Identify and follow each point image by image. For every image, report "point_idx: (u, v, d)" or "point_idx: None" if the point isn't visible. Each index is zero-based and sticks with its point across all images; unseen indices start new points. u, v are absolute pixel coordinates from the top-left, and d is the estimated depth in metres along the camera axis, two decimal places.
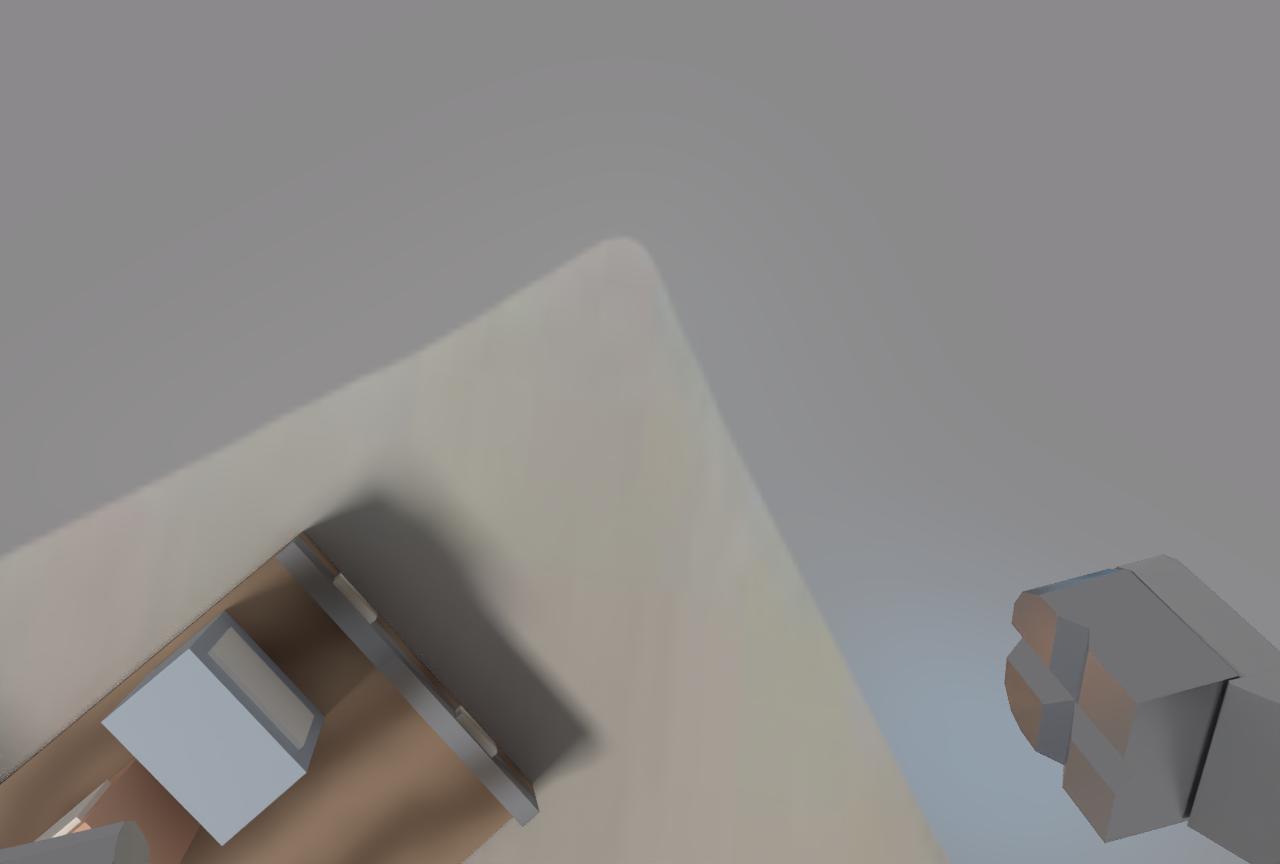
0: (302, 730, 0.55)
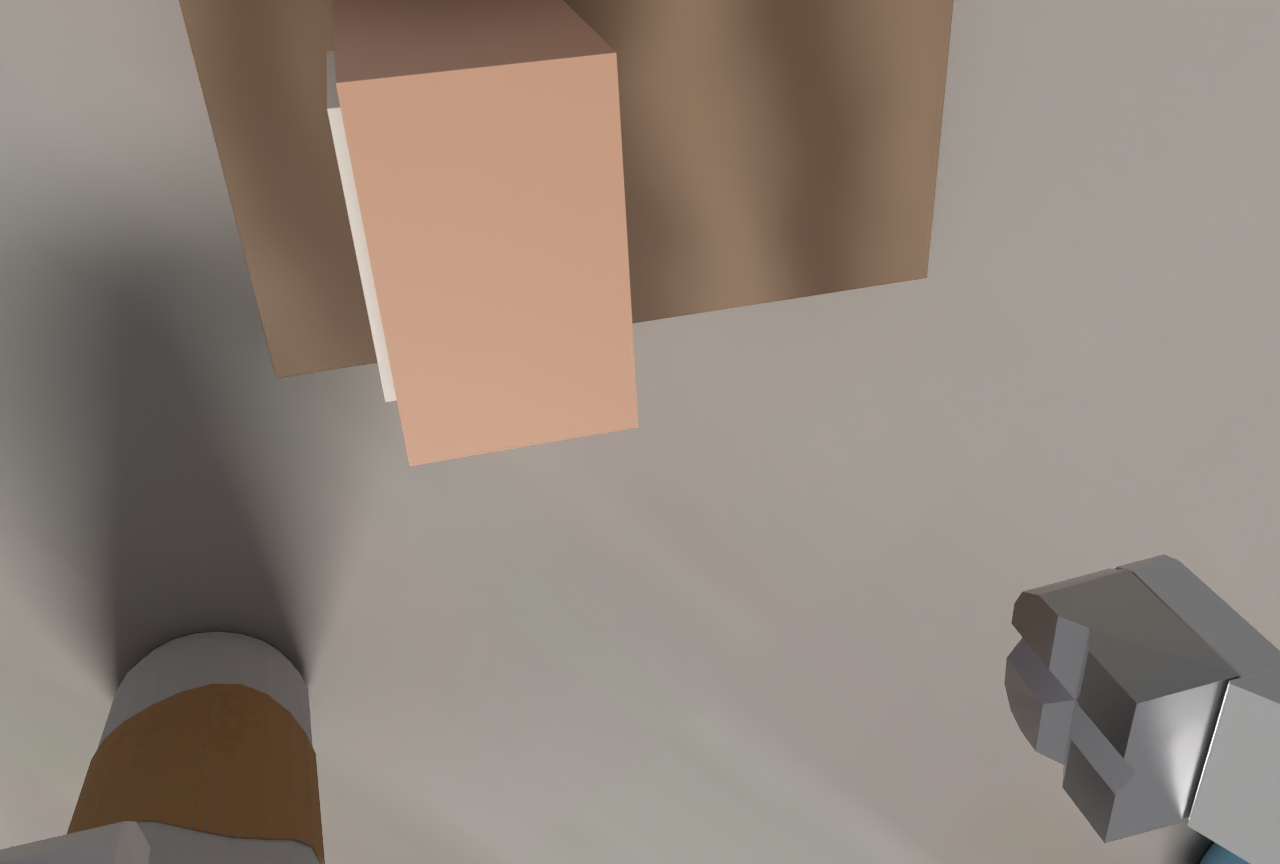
0: None
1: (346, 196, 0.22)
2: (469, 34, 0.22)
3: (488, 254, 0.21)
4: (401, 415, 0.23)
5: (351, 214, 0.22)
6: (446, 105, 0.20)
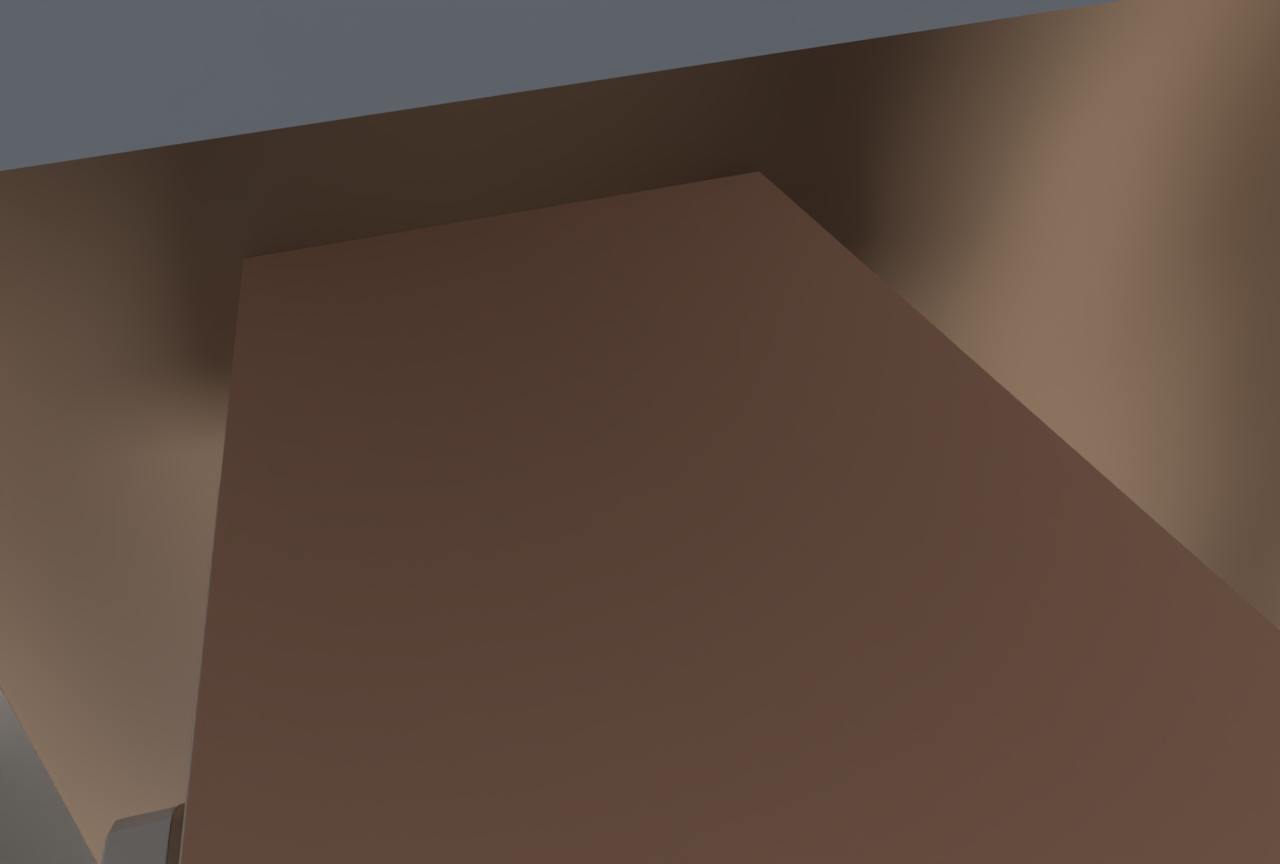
0: None
1: None
2: (744, 634, 0.05)
3: None
4: None
5: None
6: None
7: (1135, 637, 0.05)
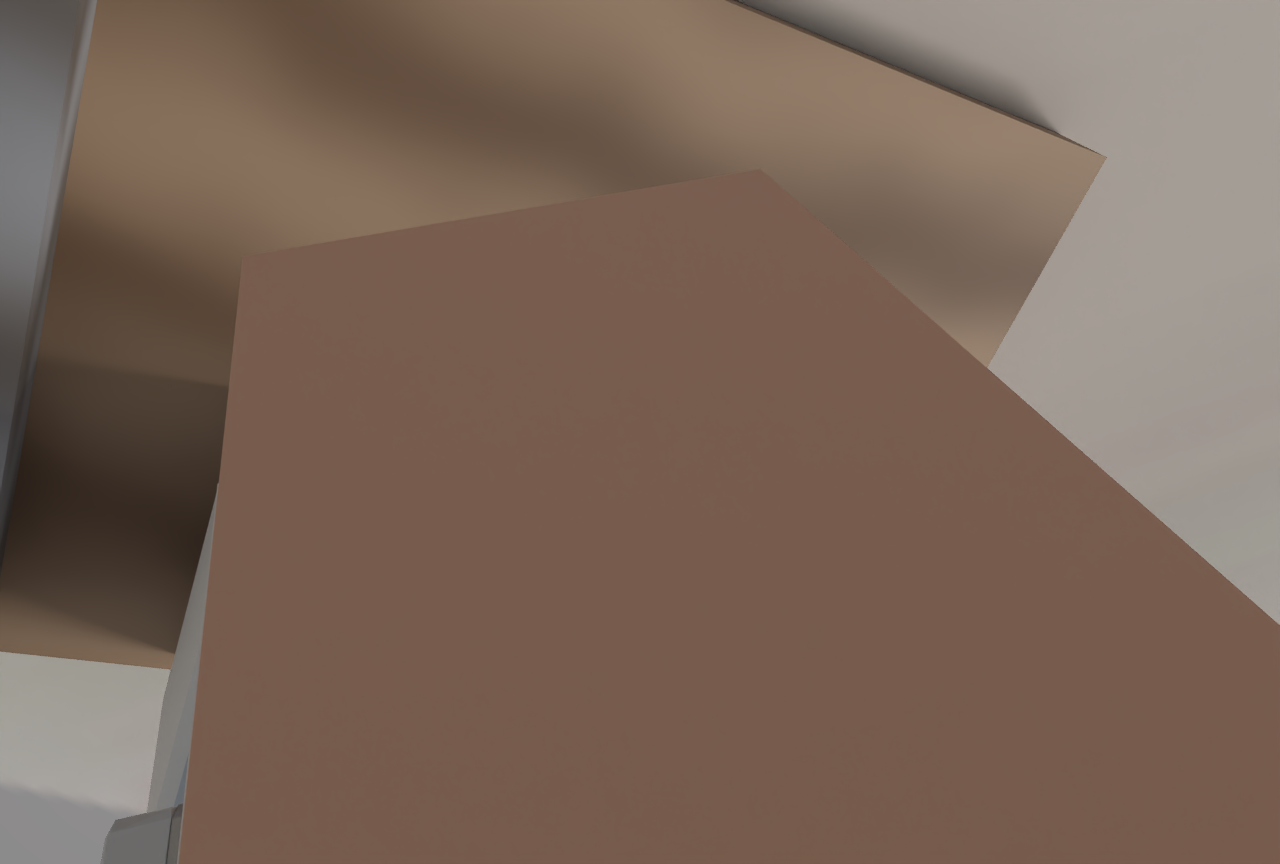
0: None
1: None
2: (746, 633, 0.05)
3: None
4: None
5: None
6: None
7: (1139, 636, 0.05)
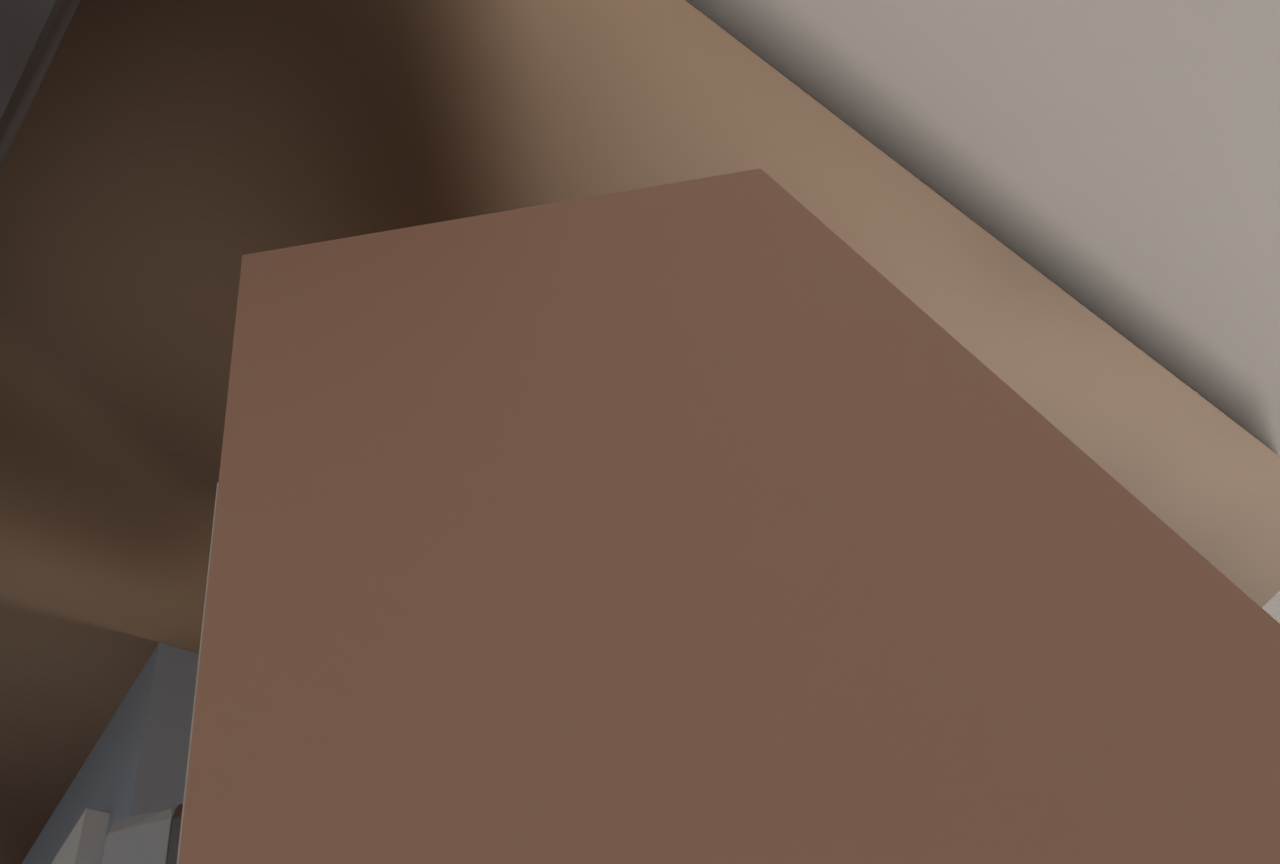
0: None
1: None
2: (747, 633, 0.05)
3: None
4: None
5: None
6: None
7: (1141, 636, 0.05)
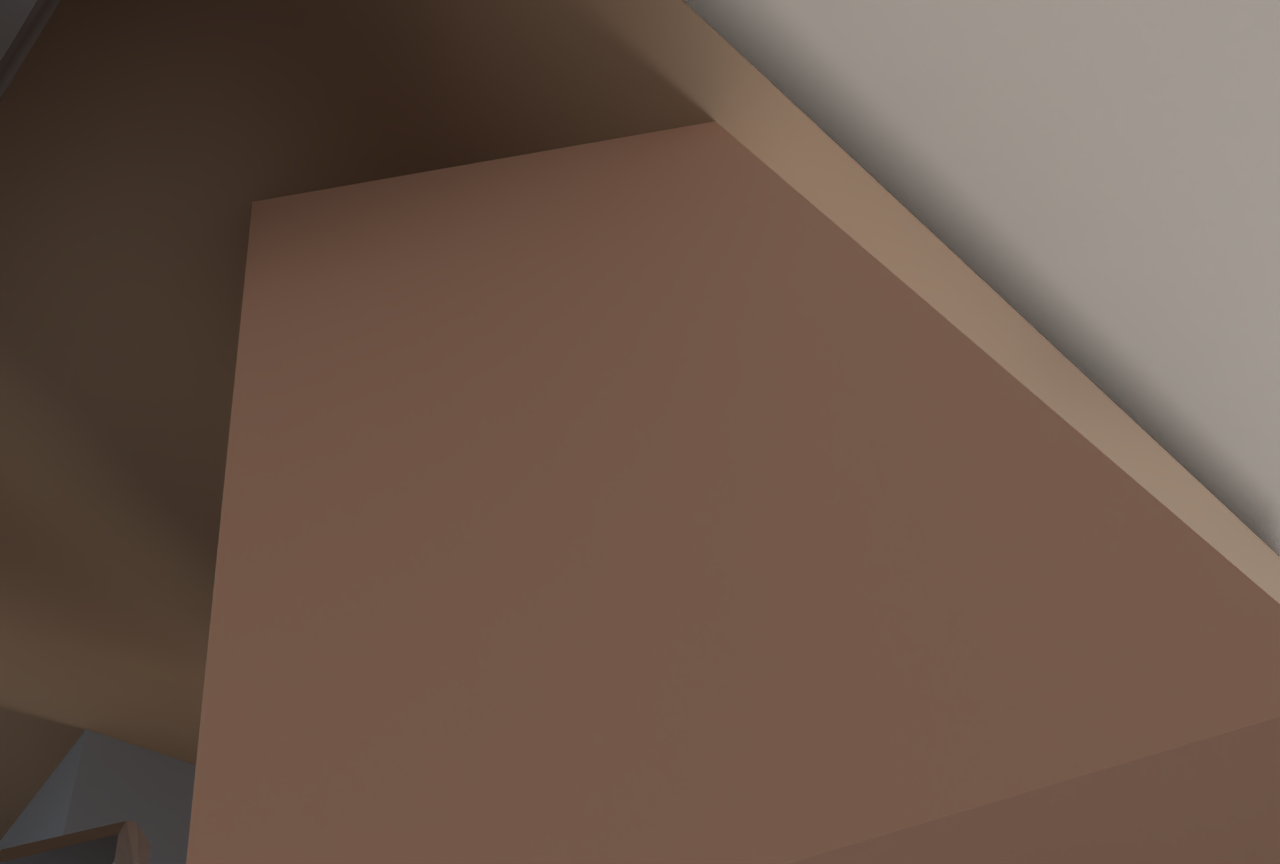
0: None
1: None
2: (665, 462, 0.07)
3: None
4: None
5: None
6: None
7: (980, 455, 0.06)
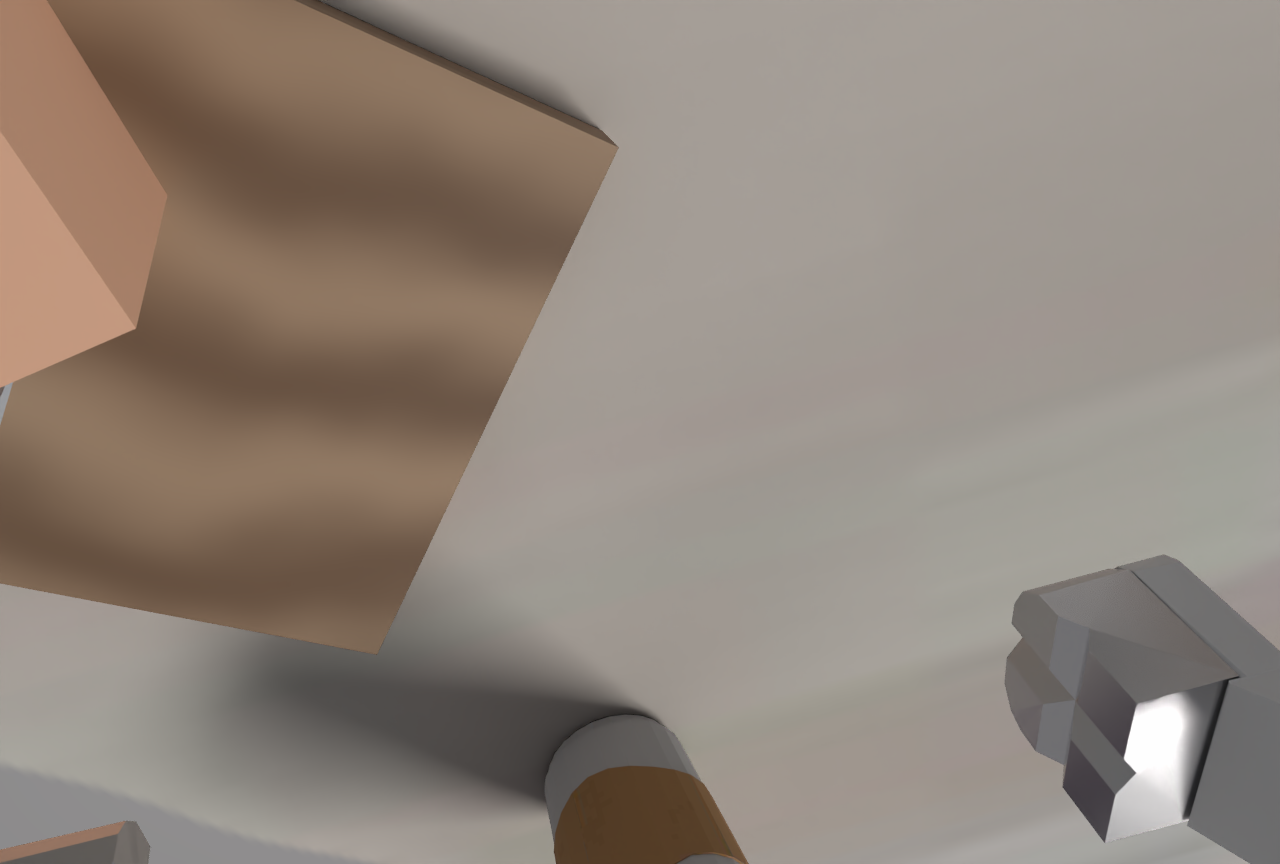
0: None
1: None
2: None
3: None
4: None
5: None
6: None
7: None
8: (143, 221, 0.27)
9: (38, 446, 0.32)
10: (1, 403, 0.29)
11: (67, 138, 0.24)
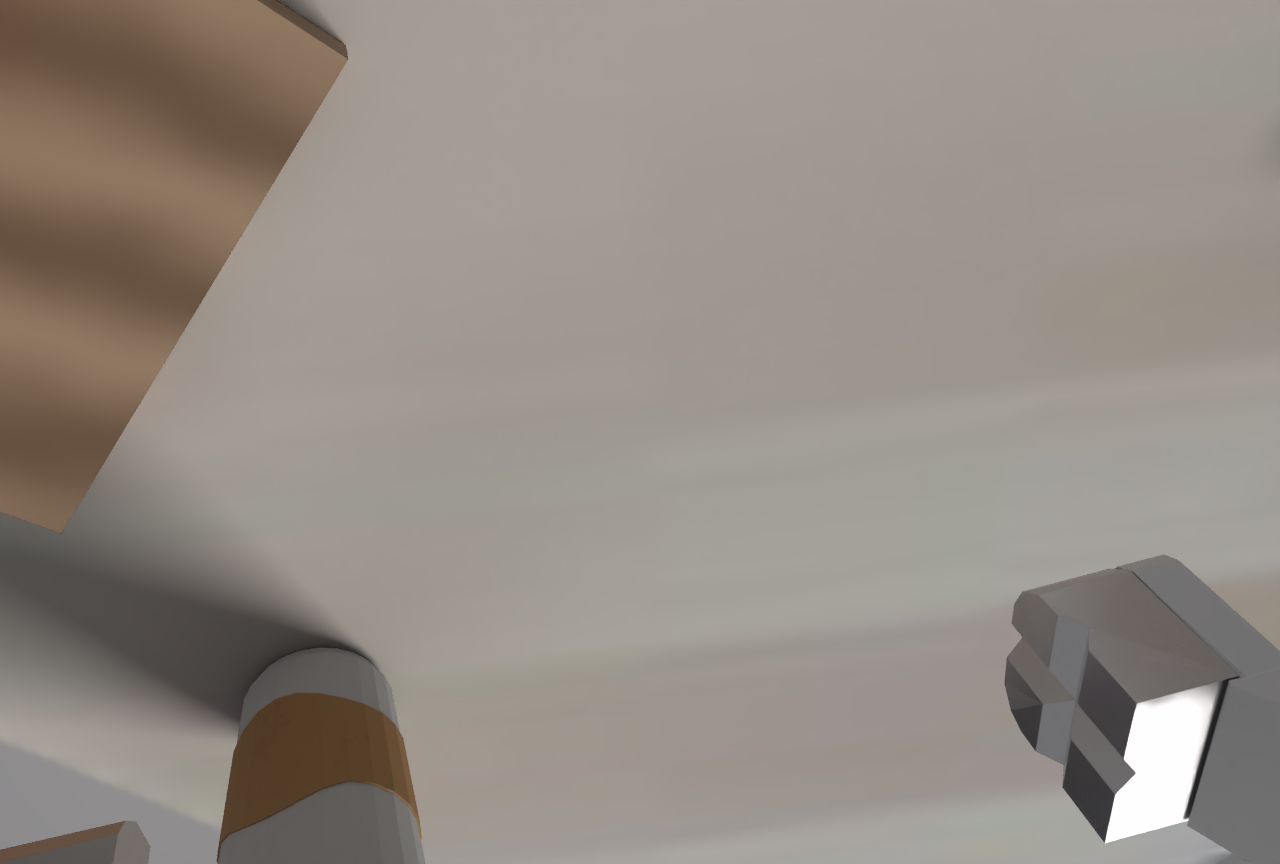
0: None
1: None
2: None
3: None
4: None
5: None
6: None
7: None
8: None
9: None
10: None
11: None
